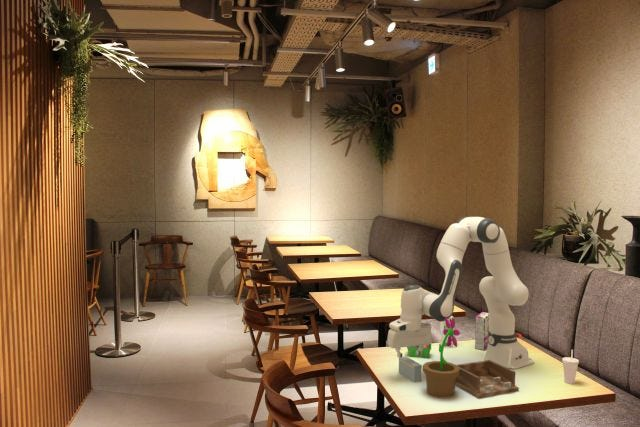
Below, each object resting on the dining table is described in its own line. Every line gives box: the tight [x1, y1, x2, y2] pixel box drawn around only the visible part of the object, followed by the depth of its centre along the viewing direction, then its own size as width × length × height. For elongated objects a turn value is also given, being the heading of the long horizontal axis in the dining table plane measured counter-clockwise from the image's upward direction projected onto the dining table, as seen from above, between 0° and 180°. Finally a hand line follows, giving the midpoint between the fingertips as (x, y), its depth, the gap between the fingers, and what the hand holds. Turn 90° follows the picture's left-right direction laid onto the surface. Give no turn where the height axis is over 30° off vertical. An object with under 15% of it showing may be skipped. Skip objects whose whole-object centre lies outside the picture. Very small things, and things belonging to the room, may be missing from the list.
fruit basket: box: [406, 343, 433, 359], centre depth 263 cm, size 11×9×11 cm
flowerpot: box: [422, 317, 460, 398], centre depth 217 cm, size 14×14×30 cm
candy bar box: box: [474, 311, 489, 351], centre depth 277 cm, size 11×5×16 cm, turn 148°
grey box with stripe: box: [398, 355, 423, 383], centre depth 234 cm, size 12×4×7 cm, turn 24°
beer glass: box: [439, 315, 455, 349], centre depth 278 cm, size 7×7×15 cm
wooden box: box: [455, 360, 520, 400], centre depth 224 cm, size 20×17×8 cm
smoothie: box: [561, 349, 580, 385], centre depth 230 cm, size 6×6×14 cm
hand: (409, 356), depth 234 cm, fingers open, 8 cm apart
